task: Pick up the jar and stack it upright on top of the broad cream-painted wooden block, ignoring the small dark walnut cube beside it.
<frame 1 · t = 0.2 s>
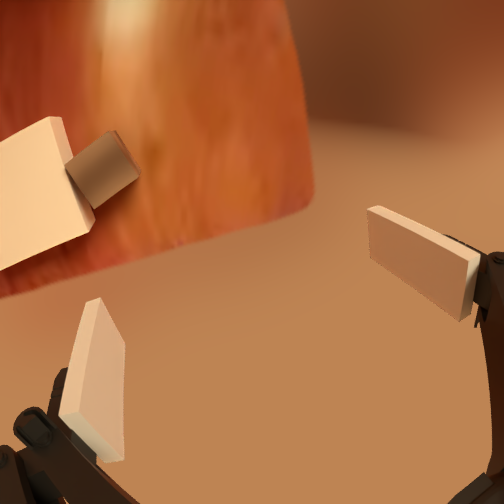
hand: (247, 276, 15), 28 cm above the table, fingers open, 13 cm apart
walnut cube: (108, 164, 36), on the table
cream block: (31, 189, 34), on the table
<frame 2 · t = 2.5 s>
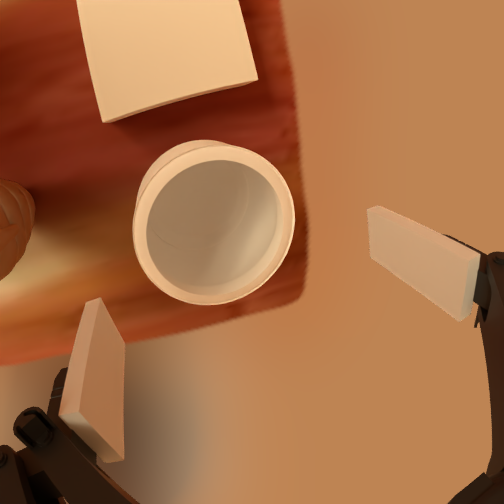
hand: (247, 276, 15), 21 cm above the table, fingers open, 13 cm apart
cream block: (162, 39, 26), on the table
jar: (189, 186, 33), on the table
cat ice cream: (23, 200, 28), on the table
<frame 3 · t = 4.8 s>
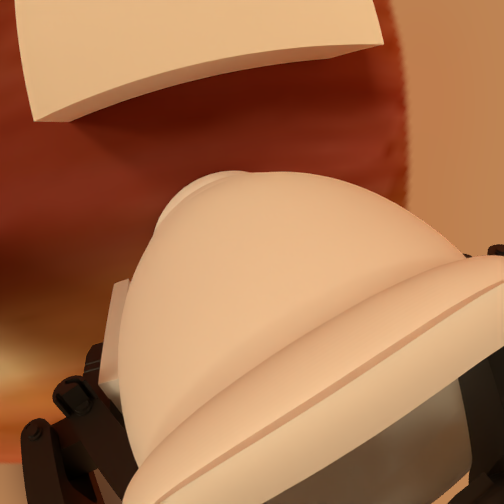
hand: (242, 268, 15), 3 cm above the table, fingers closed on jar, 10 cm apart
jar: (227, 245, 18), on the table, touching gripper
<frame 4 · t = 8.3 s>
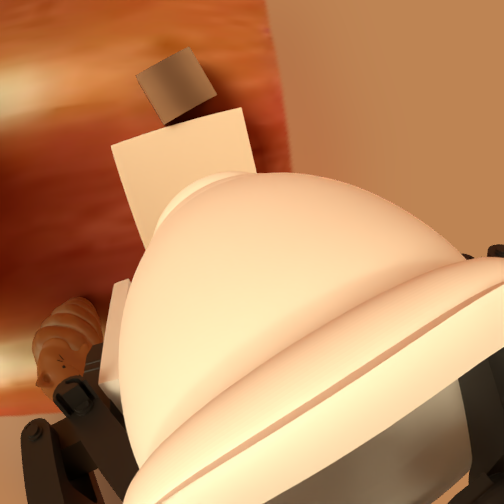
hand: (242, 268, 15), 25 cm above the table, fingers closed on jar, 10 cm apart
walnut cube: (173, 90, 33), on the table
cream block: (188, 180, 38), on the table
jar: (227, 246, 18), point 22 cm above the table, touching gripper
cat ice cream: (83, 303, 40), on the table
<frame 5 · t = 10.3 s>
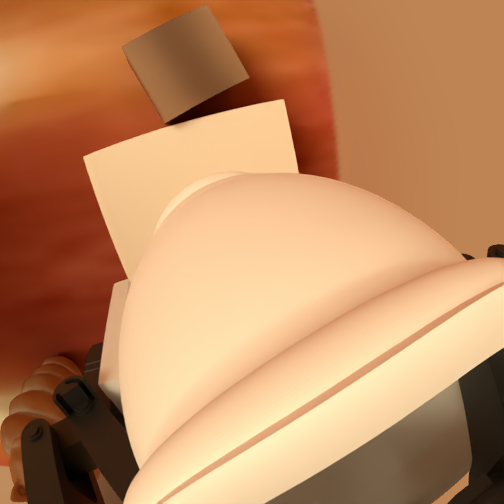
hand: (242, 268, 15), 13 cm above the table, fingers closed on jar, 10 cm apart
walnut cube: (179, 74, 22), on the table
cream block: (201, 203, 27), on the table
jar: (227, 246, 18), point 10 cm above the table, touching gripper
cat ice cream: (65, 361, 29), on the table
when the fingers open (10 cm above the table, at t = 12.1 s): jar drops 2 cm, resting on cream block.
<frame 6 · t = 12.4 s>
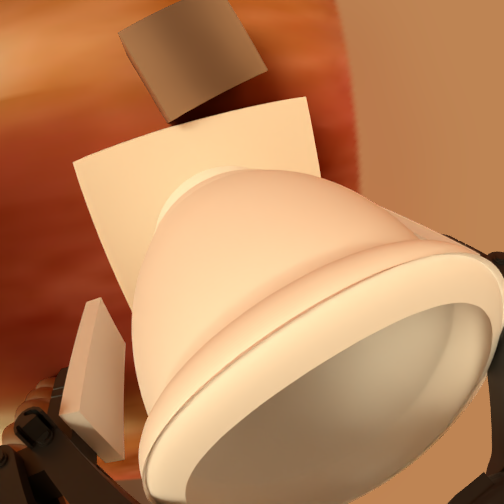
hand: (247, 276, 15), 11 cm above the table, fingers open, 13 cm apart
walnut cube: (184, 67, 20), on the table
cream block: (208, 214, 24), on the table
jar: (223, 234, 20), point 5 cm above the table, touching cream block
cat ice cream: (61, 381, 26), on the table
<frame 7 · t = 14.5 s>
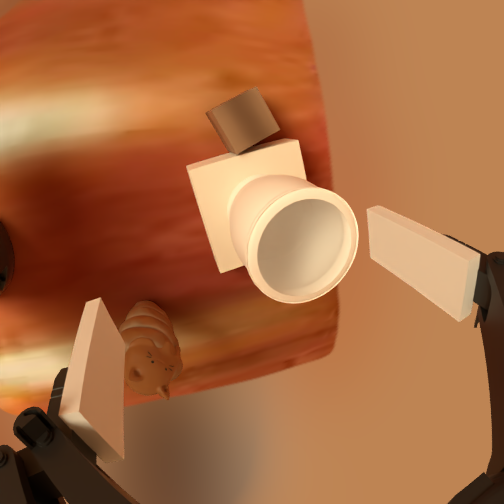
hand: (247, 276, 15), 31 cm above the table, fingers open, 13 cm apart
walnut cube: (236, 120, 41), on the table
cream block: (248, 198, 45), on the table
jar: (259, 206, 41), point 5 cm above the table, touching cream block
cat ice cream: (148, 306, 47), on the table
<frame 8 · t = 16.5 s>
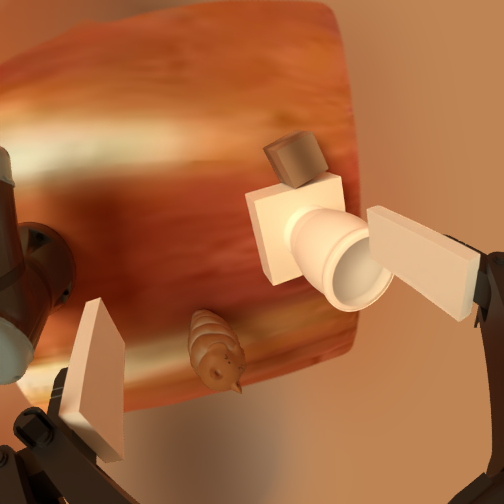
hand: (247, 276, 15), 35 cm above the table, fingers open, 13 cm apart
walnut cube: (287, 155, 49), on the table
cream block: (294, 222, 53), on the table
jar: (307, 231, 49), point 5 cm above the table, touching cream block
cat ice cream: (202, 313, 55), on the table
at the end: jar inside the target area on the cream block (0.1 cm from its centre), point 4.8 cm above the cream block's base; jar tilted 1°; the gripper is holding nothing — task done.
